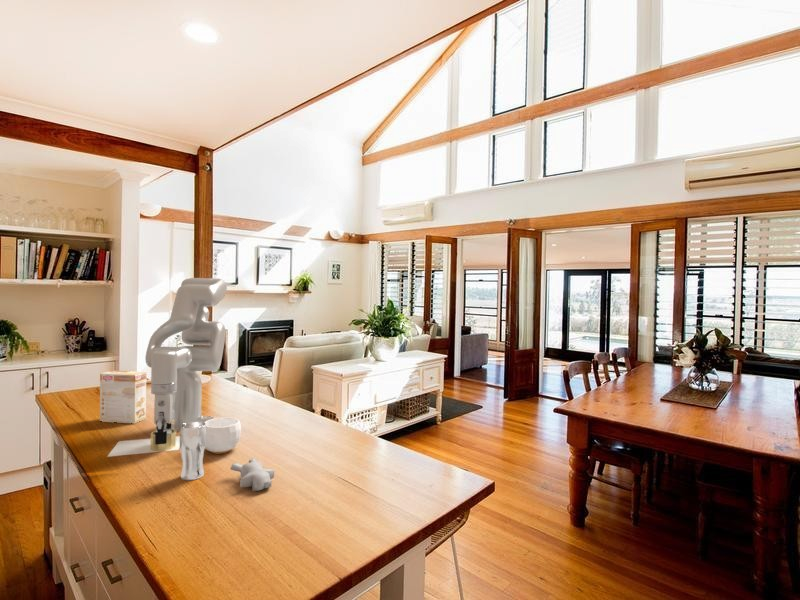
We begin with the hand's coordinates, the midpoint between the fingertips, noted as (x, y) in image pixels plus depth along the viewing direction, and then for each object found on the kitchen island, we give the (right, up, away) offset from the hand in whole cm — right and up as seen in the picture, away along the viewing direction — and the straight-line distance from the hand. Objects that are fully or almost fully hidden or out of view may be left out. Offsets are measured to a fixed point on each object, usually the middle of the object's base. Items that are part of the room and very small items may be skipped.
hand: (163, 438), depth 142 cm
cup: (+19, -5, +1) cm, 19 cm away
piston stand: (-6, -4, +1) cm, 7 cm away
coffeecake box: (-33, -2, +29) cm, 44 cm away
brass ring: (0, -3, 0) cm, 3 cm away
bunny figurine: (+37, -6, -21) cm, 43 cm away
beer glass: (+19, -5, -18) cm, 27 cm away
